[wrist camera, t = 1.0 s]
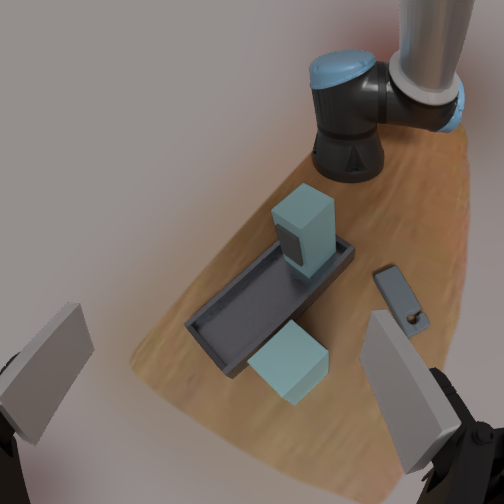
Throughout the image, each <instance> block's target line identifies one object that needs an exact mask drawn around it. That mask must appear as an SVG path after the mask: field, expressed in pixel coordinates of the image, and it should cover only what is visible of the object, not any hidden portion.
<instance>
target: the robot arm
mask: <svg viewBox="0 0 504 504" xmlns="http://www.w3.org/2000/svg"><path fill="white" fill-rule="evenodd" d="M474 1H475V0H399V8H400V9H399V11H400V48H399V50H398V51H397V52H396V53H394V54H393V56H392V57H391V59H390V62H381V61H376V59H375V57H374V55H373V54H372V53H370V52H367V51H361V50H342V51H336V52H332V53H328V54H325V55H322V56H320V57H318V58H316V59H315V60H314V61H313V62H312V63H311V64H310V67H309V71H310V87H311V89H312V95H313V100H314V106H315V113H316V120H317V127H318V131H317V135H316V139H315V143H314V147H313V162H314V166H315V168H316V169H317V170H318V172H320V173H321V174H322V175H323V176H325V177H327V178H329V179H332V180H335V181H339V182H345V183H358V182H363V181H367V180H370V179H372V178H374V177H376V176H377V175H378V174H379V173H380V172H381V171H382V169H383V166H384V150H383V148H382V145H381V142H380V138H379V135H378V132H377V123H383V124H392V125H400V126H407V127H413V128H419V129H425V130H429V131H431V132H444V133H449V132H452V131H453V130H455V129H456V127H457V126H458V125H459V123H460V121H461V118H462V110H464V100H465V98H464V89H463V85H462V82H461V80H460V78H459V77H458V76H457V73H456V71H455V70H456V67H457V64H458V61H459V58H460V55H461V52H462V48H463V45H464V41H465V38H466V34H467V30H468V27H469V23H470V19H471V15H472V10H473V6H474ZM94 350H95V349H94V346H93V343H92V340H91V337H90V334H89V331H88V328H87V325H86V322H85V319H84V315H83V312H82V308H81V305H80V303H71V302H68V303H67V304H66V305H65V306H64V307H63V308H62V309H61V310H60V311H59V312H58V313H57V314H56V315H55V316H54V317H53V318H52V319H51V320H50V321H49V322H48V323H47V324H46V325H45V326H44V327H43V328H42V329H41V330H40V331H39V332H38V333H37V334H36V336H35V337H34V338H33V339H32V340H31V341H30V342H29V343H28V344H27V345H26V346H25V348H24V349H23V350H22V351H21V352H19V353H18V354H16V355H15V356H13V357H12V358H11V359H10V360H9V361H8V362H7V364H6V366H4V367H3V368H2V370H1V372H0V504H31V503H30V500H29V497H28V493H27V490H26V486H25V482H24V478H23V474H22V469H21V464H20V459H19V454H18V448H17V442H16V439H15V437H14V436H13V434H14V433H15V431H16V433H17V434H18V435H19V436H20V437H21V439H22V440H23V441H25V442H27V443H29V444H31V445H33V446H36V445H37V443H38V441H39V440H40V438H41V436H42V434H43V432H44V431H45V429H46V427H47V425H48V424H49V422H50V420H51V418H52V417H53V415H54V413H55V412H56V410H57V408H58V406H59V405H60V403H61V402H62V400H63V398H64V397H65V395H66V393H67V392H68V390H69V389H70V387H71V385H72V384H73V382H74V381H75V379H76V378H77V376H78V374H79V373H80V371H81V370H82V368H83V367H84V365H85V364H86V362H87V361H88V359H89V357H90V356H91V355H92V353H93V352H94ZM359 360H360V362H361V364H362V367H363V369H364V371H365V373H366V376H367V378H368V380H369V383H370V385H371V387H372V390H373V392H374V395H375V397H376V399H377V402H378V404H379V407H380V409H381V412H382V414H383V417H384V419H385V422H386V424H387V427H388V429H389V432H390V434H391V437H392V440H393V442H394V445H395V448H396V450H397V453H398V456H399V458H400V461H401V464H402V467H403V469H404V472H405V475H406V474H409V473H412V472H415V471H418V470H421V469H423V468H425V467H426V466H427V464H428V463H429V462H430V461H432V463H433V466H434V467H433V468H432V469H431V470H430V471H429V472H428V473H427V474H426V475H425V476H424V477H423V479H422V480H421V481H425V479H427V478H428V479H427V481H426V484H425V486H424V488H423V491H422V493H421V495H420V497H419V499H418V501H417V504H504V428H497V429H493V428H492V427H491V426H490V425H489V424H487V423H485V422H479V421H477V422H476V421H475V420H474V418H473V417H472V415H471V414H470V412H469V410H468V409H467V407H466V406H465V404H464V402H463V401H462V399H461V398H460V396H459V395H458V394H457V393H456V390H455V389H454V387H453V386H451V385H452V384H451V382H450V381H449V380H448V378H447V377H446V375H445V374H444V373H442V372H441V371H440V370H438V369H437V368H436V367H435V368H431V369H428V368H427V366H426V365H425V363H424V362H423V360H422V359H421V357H420V356H419V354H418V353H417V351H416V350H415V348H414V347H413V345H412V344H411V342H410V341H409V340H408V338H407V337H406V335H405V334H404V332H403V331H402V330H401V328H400V327H399V325H398V324H397V323H396V321H395V320H394V319H393V317H392V316H391V314H390V313H389V312H388V310H372V311H371V316H370V320H369V324H368V328H367V332H366V336H365V340H364V343H363V347H362V351H361V354H360V358H359Z"/></svg>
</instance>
